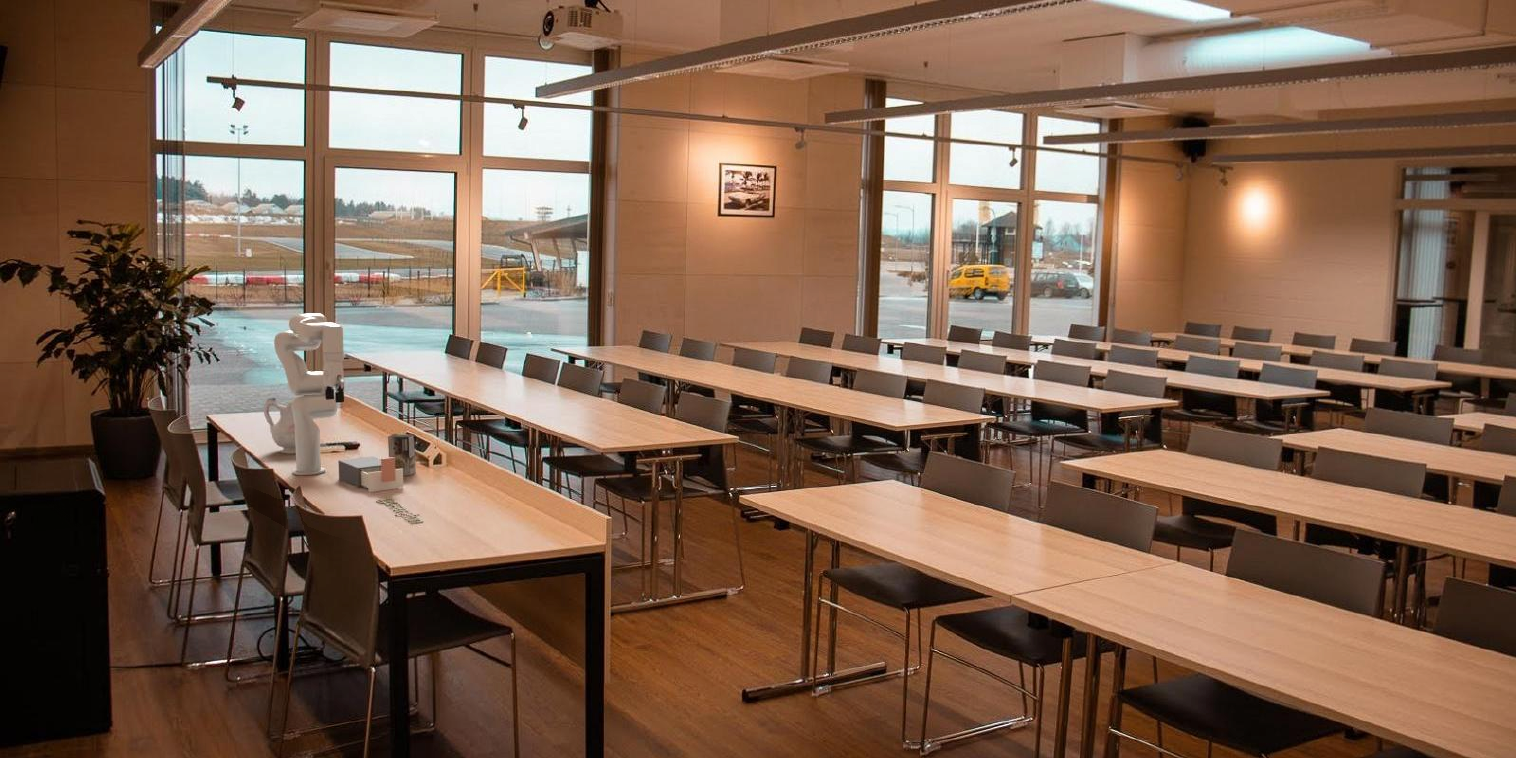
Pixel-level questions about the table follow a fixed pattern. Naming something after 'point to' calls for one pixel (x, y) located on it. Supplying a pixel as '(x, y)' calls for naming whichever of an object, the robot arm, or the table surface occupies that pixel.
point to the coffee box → (403, 452)
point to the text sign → (393, 504)
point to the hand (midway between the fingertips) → (334, 400)
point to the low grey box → (356, 469)
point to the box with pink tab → (382, 476)
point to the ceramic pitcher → (282, 426)
